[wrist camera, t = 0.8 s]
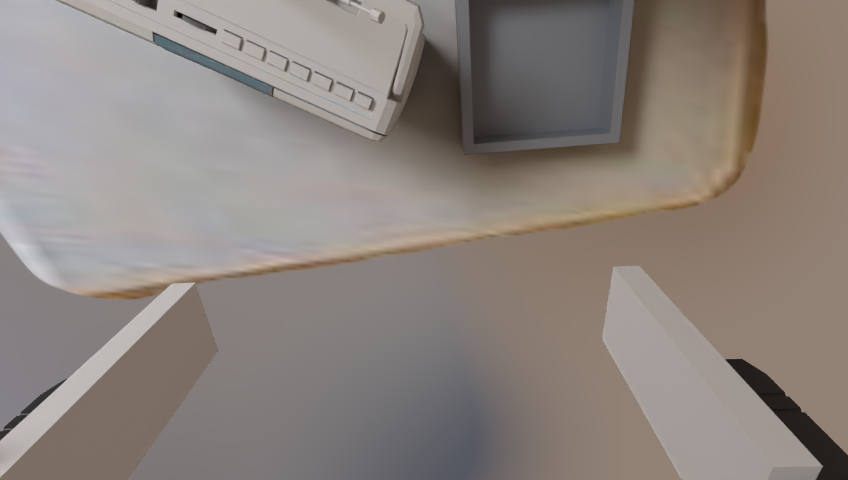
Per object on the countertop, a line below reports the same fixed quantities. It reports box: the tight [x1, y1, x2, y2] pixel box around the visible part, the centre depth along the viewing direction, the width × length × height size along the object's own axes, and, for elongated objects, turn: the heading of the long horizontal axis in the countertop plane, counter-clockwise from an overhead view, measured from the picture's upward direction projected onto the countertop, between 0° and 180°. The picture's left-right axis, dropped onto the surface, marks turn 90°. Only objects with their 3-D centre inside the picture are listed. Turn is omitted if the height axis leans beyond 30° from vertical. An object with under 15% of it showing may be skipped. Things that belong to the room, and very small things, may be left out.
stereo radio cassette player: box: [56, 0, 425, 141], centre depth 25 cm, size 21×8×20 cm, turn 66°
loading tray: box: [455, 0, 635, 155], centre depth 33 cm, size 13×13×4 cm
